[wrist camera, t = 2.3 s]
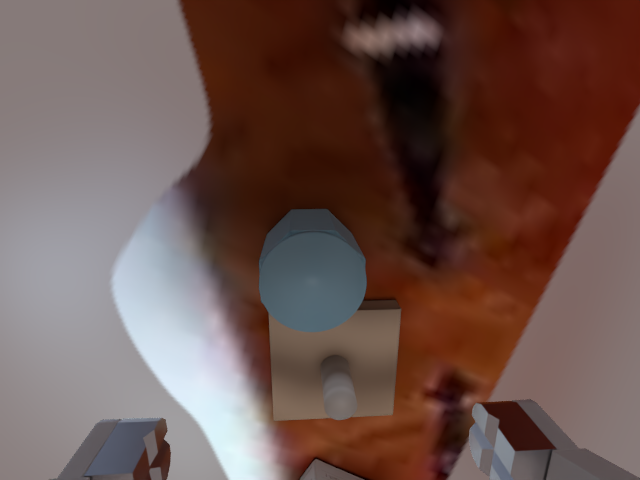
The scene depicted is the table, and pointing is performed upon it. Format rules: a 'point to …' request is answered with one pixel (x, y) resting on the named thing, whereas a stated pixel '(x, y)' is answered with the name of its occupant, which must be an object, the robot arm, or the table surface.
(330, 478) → the supplement box
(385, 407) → the post base
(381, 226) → the table surface
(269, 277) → the teal cap
